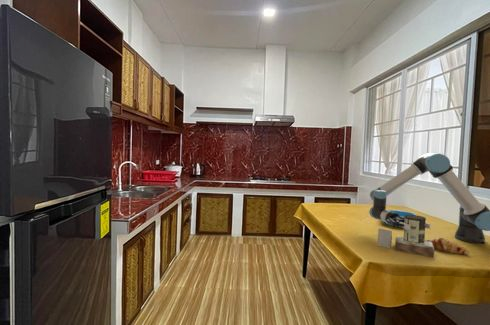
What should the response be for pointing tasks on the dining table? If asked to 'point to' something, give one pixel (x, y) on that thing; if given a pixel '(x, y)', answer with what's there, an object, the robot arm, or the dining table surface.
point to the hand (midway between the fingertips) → (419, 227)
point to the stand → (414, 247)
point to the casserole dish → (400, 214)
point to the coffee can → (414, 229)
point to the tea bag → (384, 238)
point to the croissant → (448, 246)
